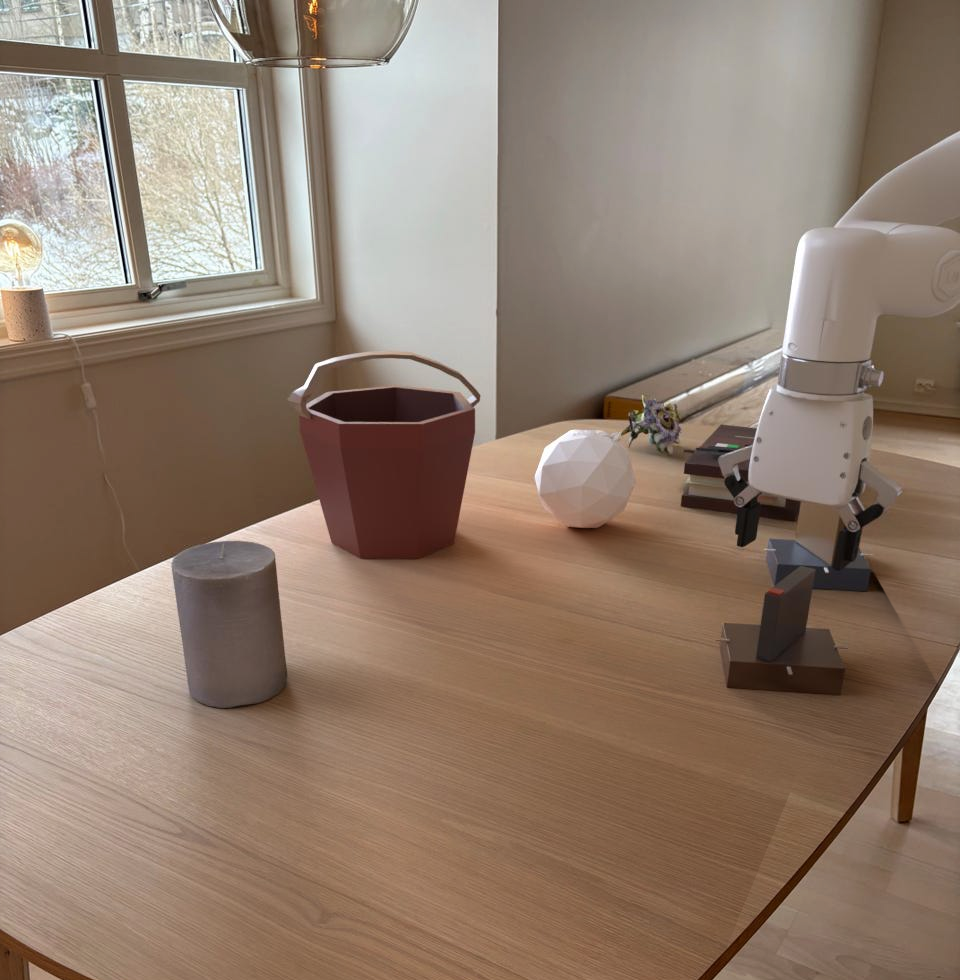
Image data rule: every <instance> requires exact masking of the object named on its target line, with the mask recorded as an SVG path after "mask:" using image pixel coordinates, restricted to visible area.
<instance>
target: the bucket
mask: <svg viewBox="0 0 960 980" xmlns="http://www.w3.org/2000/svg"><path fill="white" fill-rule="evenodd" d="M378 359H398V360H400V359H401V360H411V361H413V362H417V363H420V364H422V365H426V366H429V367H431V368H433V369H436V370H439V371H441V372H443V373H445V374H446V375H448V376H451V377H453V378H455V379H457V380H459V382H461V384H462V385H463V386H464V387H466V388H467V389H468V391H469V392H470V394H471V396H469V397H468V398H466V397H465V396H464V395H463V394H462V393H461V392H460V391H452V390H444V389H443V390H442V389H432V388H426V387H425V388H424V387H415V386H405V385H396V384H395V385H385V386H375V387H373V386H372V387H365V388H354V389H344V390H342V389H341V390H332V391H326V392H324V393H323V394H321V395H319V396H318V397H315V398H313V400H311V401H308V399H309V398H311V396H312V395H313V394H314V393H315V390H316V388H317V387H318V384H319V382H320V381H321V379H322V377H323V375H324V373H325V371H328V370H331V369H334V368H338V367H341V366H345V365H349V364H352V363H357V362H362V361H370V360H378ZM286 401H287V402H288V404H289V405H290V406H291V408H292V409H293V410H294V411H295V413H296V414H297V415H298V421H299V422H298V423H299V432H300V437H301V440H302V444H303V446H304V450H305V454H306V457H307V461H308V464H309V467H310V472H311V475H312V479H313V481H314V486H315V489H316V493H317V496H318V499H319V503H320V507H321V510H322V514H323V518H324V521H325V525H326V528H327V531H328V535H329V538H330V542H331V544H333V545H335V546H336V547H338V548H340V549H342V550H343V551H346V552H347V553H349V554H351V555H353V556H355V557H357V558H358V559H362V560H363V559H364V560H365V559H366V560H367V559H368V560H369V559H370V560H374V559H375V560H418V559H420V558H422V557H425V556H427V555H429V554H432V553H434V552H437V551H439V550H441V549H444V548H446V547H448V546H449V547H450V546H451V545H454V543H455V541H456V540H455V539H456V534H457V529H458V525H459V519H460V513H461V508H462V503H463V497H464V493H465V489H466V488H465V487H466V482H467V477H468V472H469V467H470V461H471V457H472V452H473V451H472V450H473V446H474V440H475V435H476V408H475V407H476V406H477V404H478V403H480V401H481V394H480V393H479V391H478V390H477V389H476V388H475V387H474V386H473V384H471V383H470V381H468V379H466V377H464V375H463V374H461V372H460V371H458V370H456V369H454V368H451V367H449V366H447V365H445V364H443V363H441V362H440V361H437V360H435V359H432V358H429V357H427V356H424V355H421V354H417V353H415V352H412V351H401V350H373V351H372V350H371V351H370V350H369V351H363V352H355V353H350V354H343V355H339V356H336V357H331V358H328V359H325V360H322V361H320V362H317V363H315V364H314V366H313V368H312V370H311V372H310V374H309V375H308V378H307V379H306V381H305V383H304V385H303V386H301V387H298V388H296V389H295V390H293V391H292V392H291V393H290V394H289V396H288V397H287V399H286ZM307 401H308V402H307Z"/></svg>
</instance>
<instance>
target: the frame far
mask: <svg viewBox="0 0 960 980" xmlns="http://www.w3.org/2000/svg"><path fill="white" fill-rule="evenodd" d="M797 518H798V519H797V524H796V531H795V538H794V540H795V541H796V542H797V543H799V544H800V545H802V546H803V547H804V548H806V549H807V550H809V551H810V552H812V553H813V554H814V555H816V556H817V557H819V558H820V559H821V560H823V561H824V562H826V563H827V564H829V565H830V566H833V562H834V556H835V551H836V546H837V540H838V535H839V531H840V530H841V529H843V528H844V526H845V524H844V522H843V521H842V519H841V517H840V516H839V514H838V512H837V510H836V509H835V507H826V506H821V505H816V504H811V503H806V502H801V504H800V511H799V514H798V516H797Z"/></svg>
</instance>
